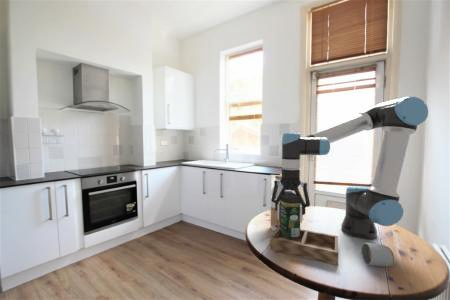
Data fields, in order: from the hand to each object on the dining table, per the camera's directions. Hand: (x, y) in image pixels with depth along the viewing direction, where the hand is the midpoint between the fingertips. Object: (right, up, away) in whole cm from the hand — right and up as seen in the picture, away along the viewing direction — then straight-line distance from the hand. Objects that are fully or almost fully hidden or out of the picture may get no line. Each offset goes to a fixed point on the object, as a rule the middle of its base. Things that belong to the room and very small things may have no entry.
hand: (289, 219), depth 95 cm
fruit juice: (0, -11, +18) cm, 21 cm away
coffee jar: (0, -7, 0) cm, 7 cm away
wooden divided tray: (+6, -12, -2) cm, 13 cm away
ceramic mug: (+28, -12, -12) cm, 33 cm away
